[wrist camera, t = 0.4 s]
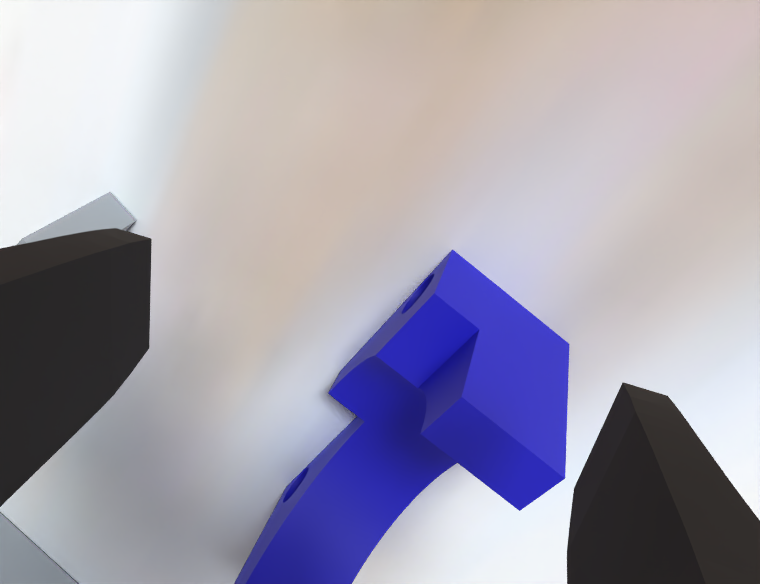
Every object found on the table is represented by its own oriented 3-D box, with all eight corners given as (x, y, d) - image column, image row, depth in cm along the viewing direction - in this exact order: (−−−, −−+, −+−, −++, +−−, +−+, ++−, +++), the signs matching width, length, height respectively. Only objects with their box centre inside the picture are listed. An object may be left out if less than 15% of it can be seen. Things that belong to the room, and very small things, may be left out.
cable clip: (453, 247, 20) (408, 355, 15) (569, 341, 20) (564, 478, 15) (257, 460, 26) (176, 589, 21) (349, 529, 26) (292, 672, 21)
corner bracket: (438, 549, 25) (416, 645, 22) (149, 667, 34) (101, 748, 31) (110, 191, 22) (22, 238, 18) (-116, 426, 31) (-203, 487, 27)
